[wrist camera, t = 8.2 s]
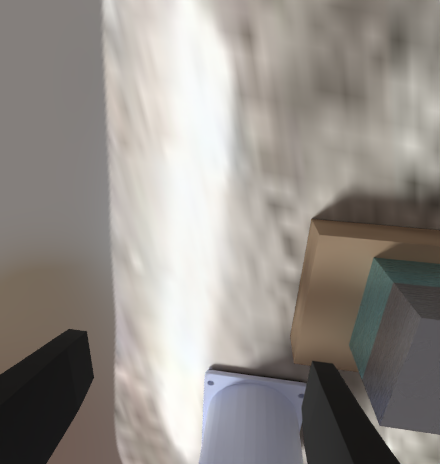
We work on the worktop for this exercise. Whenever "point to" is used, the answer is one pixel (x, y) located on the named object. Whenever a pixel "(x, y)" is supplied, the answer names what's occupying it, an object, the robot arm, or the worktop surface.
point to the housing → (400, 343)
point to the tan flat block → (345, 282)
